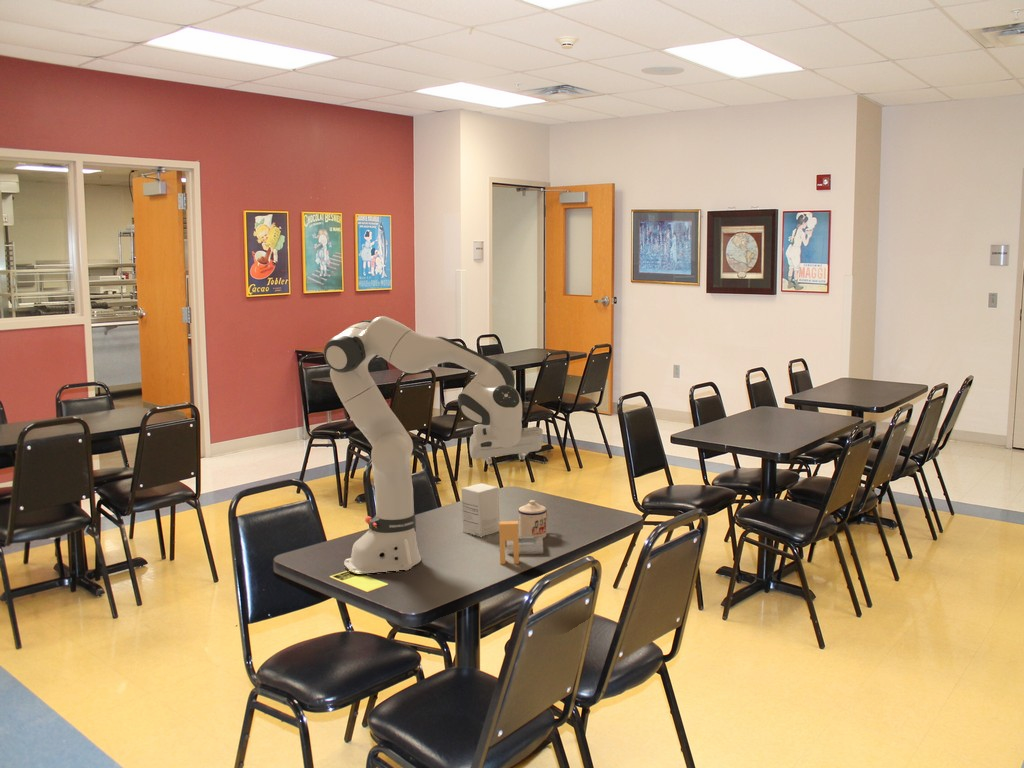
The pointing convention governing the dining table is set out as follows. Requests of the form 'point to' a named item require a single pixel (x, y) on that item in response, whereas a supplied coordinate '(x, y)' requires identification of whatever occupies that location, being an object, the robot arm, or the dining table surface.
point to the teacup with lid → (532, 520)
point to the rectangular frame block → (527, 545)
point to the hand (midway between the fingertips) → (505, 459)
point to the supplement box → (480, 509)
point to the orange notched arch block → (509, 539)
